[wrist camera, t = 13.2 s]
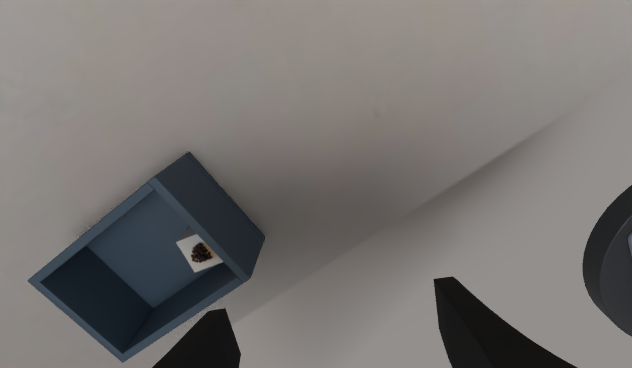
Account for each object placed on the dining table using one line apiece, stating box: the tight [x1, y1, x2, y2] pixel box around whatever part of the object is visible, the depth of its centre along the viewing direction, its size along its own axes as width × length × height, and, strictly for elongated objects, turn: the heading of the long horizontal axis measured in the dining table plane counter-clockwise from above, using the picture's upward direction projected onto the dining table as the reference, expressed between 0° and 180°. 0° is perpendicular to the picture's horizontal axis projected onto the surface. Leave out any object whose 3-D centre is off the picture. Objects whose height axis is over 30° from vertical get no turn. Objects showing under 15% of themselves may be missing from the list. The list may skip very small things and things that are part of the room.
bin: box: [28, 152, 265, 362], centre depth 22 cm, size 10×7×4 cm
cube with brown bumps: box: [176, 226, 223, 273], centre depth 22 cm, size 2×2×2 cm
